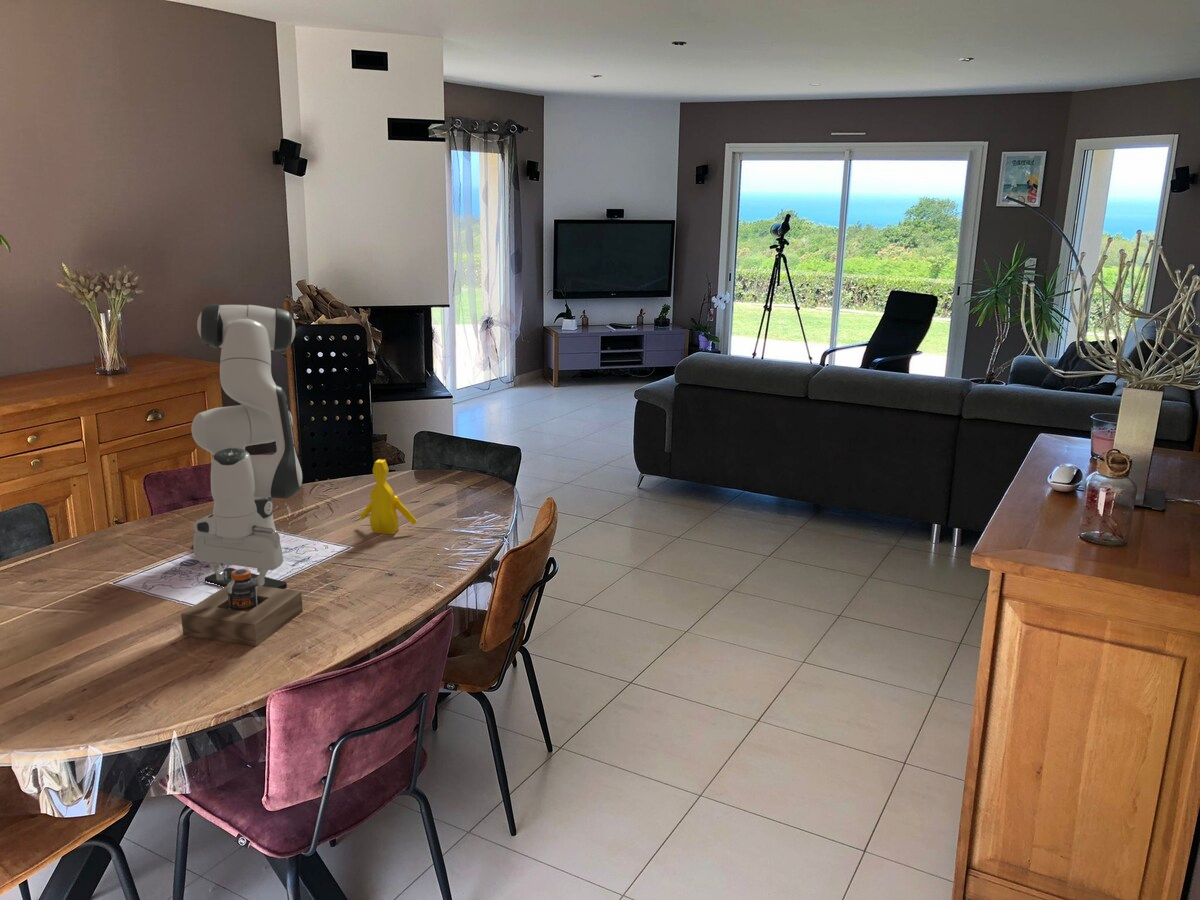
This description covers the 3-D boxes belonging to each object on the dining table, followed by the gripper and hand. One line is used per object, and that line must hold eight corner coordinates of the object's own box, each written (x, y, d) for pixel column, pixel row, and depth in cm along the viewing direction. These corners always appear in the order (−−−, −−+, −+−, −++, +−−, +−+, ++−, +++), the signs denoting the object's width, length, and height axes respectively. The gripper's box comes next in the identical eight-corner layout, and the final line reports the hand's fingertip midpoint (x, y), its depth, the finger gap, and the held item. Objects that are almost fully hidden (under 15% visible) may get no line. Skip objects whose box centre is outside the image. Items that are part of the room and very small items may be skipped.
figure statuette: (420, 530, 266) (418, 457, 260) (409, 539, 259) (407, 464, 253) (363, 524, 269) (360, 452, 264) (351, 533, 262) (347, 459, 256)
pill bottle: (231, 626, 202) (227, 578, 199) (228, 615, 207) (224, 568, 204) (260, 621, 204) (256, 574, 201) (256, 610, 209) (252, 564, 206)
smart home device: (229, 566, 233) (288, 581, 225) (229, 572, 234) (288, 588, 225) (202, 577, 226) (262, 594, 218) (203, 584, 227) (263, 600, 218)
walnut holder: (183, 635, 199) (180, 613, 198) (234, 601, 216) (232, 582, 215) (256, 646, 195) (254, 624, 194) (302, 611, 212) (301, 591, 211)
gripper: (286, 524, 200) (290, 582, 204) (205, 513, 205) (210, 571, 208) (270, 534, 194) (274, 594, 198) (186, 523, 199) (191, 582, 203)
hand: (240, 582), depth 203 cm, fingers open, 8 cm apart
